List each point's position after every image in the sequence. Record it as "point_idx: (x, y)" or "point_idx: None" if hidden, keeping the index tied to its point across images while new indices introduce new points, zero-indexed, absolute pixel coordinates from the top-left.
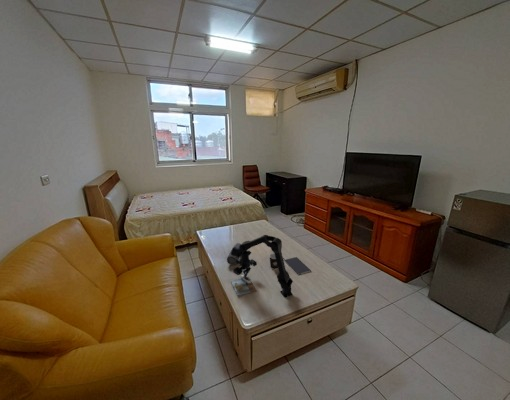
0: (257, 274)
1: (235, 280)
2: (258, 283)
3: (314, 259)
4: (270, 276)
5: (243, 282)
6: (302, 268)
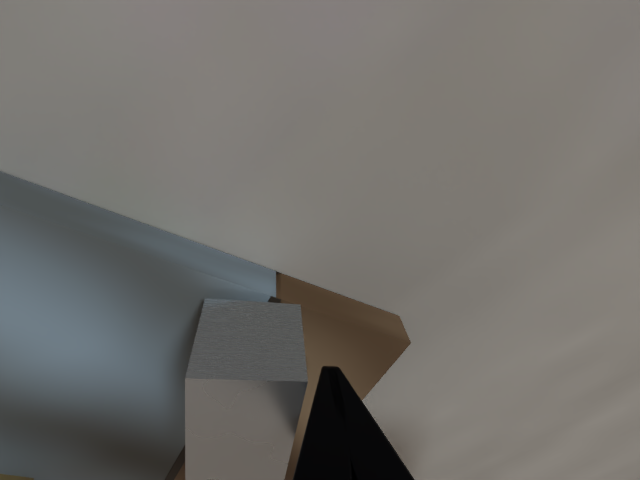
0: (579, 353)
1: (8, 231)
2: None
3: None
4: (591, 469)
5: (164, 401)
6: None
